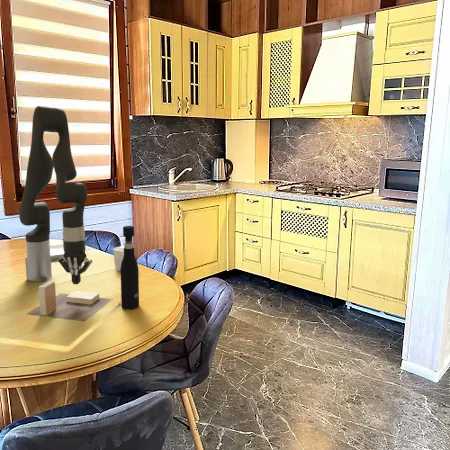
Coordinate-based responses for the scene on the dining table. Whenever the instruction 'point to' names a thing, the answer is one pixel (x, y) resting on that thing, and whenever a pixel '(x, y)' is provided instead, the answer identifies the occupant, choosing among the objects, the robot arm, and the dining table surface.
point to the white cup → (118, 257)
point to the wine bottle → (129, 273)
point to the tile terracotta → (47, 297)
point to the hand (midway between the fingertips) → (76, 283)
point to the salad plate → (56, 252)
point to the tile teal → (82, 297)
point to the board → (72, 309)
